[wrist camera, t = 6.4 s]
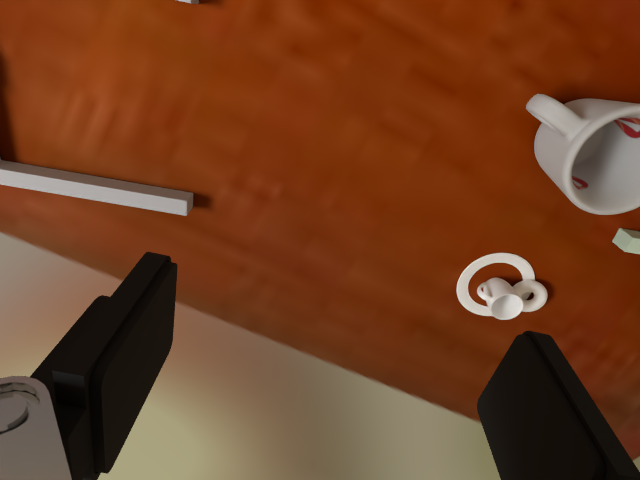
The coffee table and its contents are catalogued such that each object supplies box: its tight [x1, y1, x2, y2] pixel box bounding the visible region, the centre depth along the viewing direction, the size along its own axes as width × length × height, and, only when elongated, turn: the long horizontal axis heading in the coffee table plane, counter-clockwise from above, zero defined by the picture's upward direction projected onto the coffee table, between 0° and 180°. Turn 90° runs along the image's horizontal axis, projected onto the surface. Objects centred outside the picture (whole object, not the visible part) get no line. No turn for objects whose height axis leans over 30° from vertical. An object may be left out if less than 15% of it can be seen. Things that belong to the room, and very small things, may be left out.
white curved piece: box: [457, 253, 548, 320], centre depth 42 cm, size 9×8×4 cm
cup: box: [526, 94, 640, 215], centre depth 32 cm, size 11×8×8 cm
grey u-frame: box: [0, 0, 199, 216], centre depth 34 cm, size 19×20×3 cm
